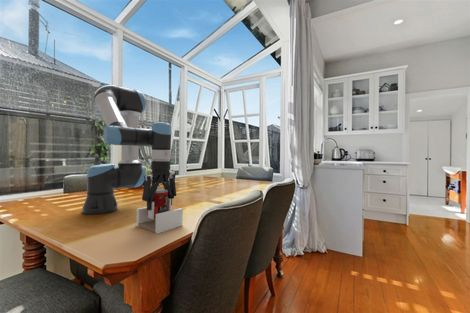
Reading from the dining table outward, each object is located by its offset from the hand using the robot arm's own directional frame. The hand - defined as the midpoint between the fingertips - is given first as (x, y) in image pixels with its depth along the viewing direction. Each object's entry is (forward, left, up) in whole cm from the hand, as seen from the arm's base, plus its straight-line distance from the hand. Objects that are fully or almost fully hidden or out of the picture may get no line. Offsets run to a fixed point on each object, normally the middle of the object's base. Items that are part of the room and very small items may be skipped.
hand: (159, 215), depth 91 cm
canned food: (-2, 0, -1) cm, 2 cm away
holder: (0, 0, -4) cm, 4 cm away
